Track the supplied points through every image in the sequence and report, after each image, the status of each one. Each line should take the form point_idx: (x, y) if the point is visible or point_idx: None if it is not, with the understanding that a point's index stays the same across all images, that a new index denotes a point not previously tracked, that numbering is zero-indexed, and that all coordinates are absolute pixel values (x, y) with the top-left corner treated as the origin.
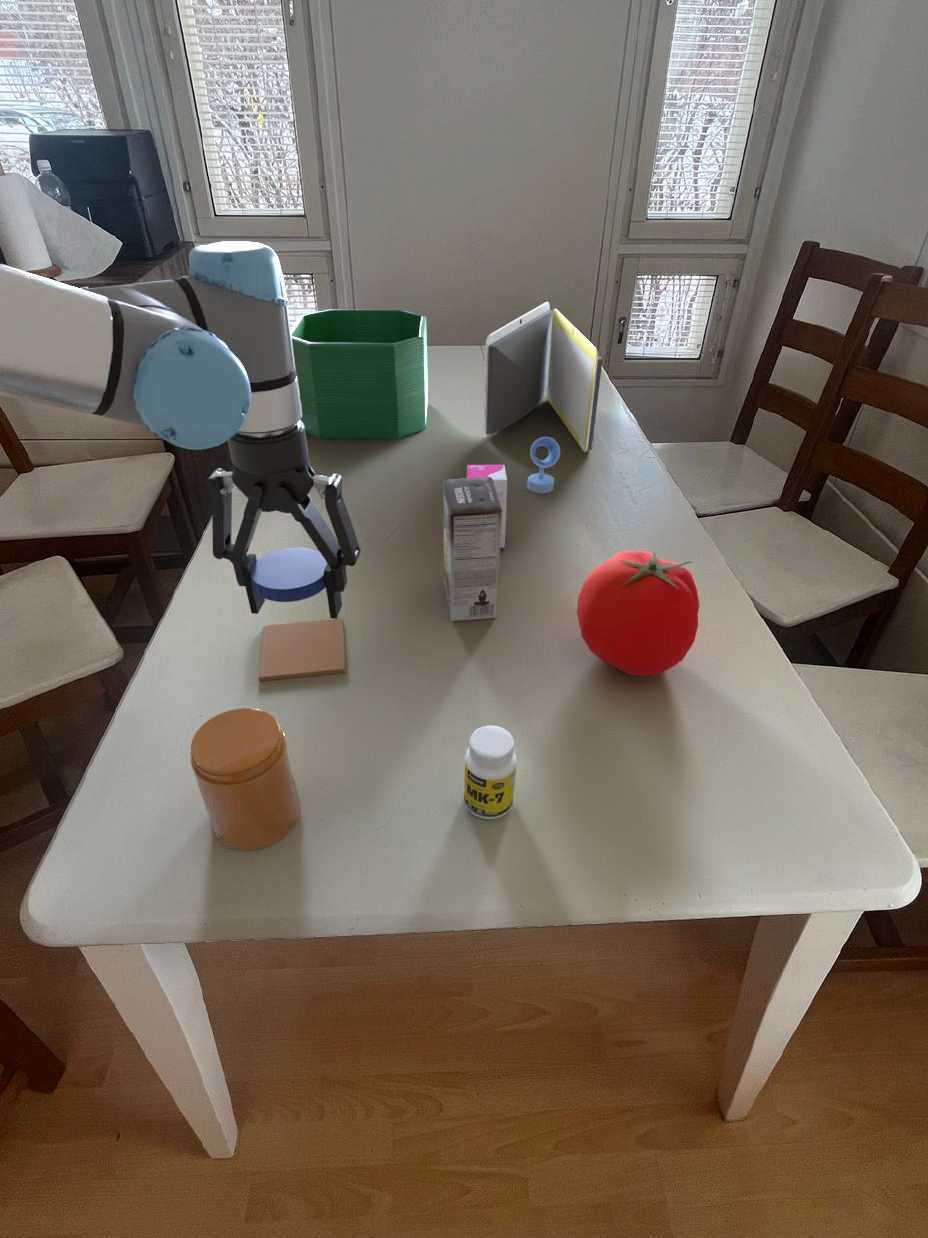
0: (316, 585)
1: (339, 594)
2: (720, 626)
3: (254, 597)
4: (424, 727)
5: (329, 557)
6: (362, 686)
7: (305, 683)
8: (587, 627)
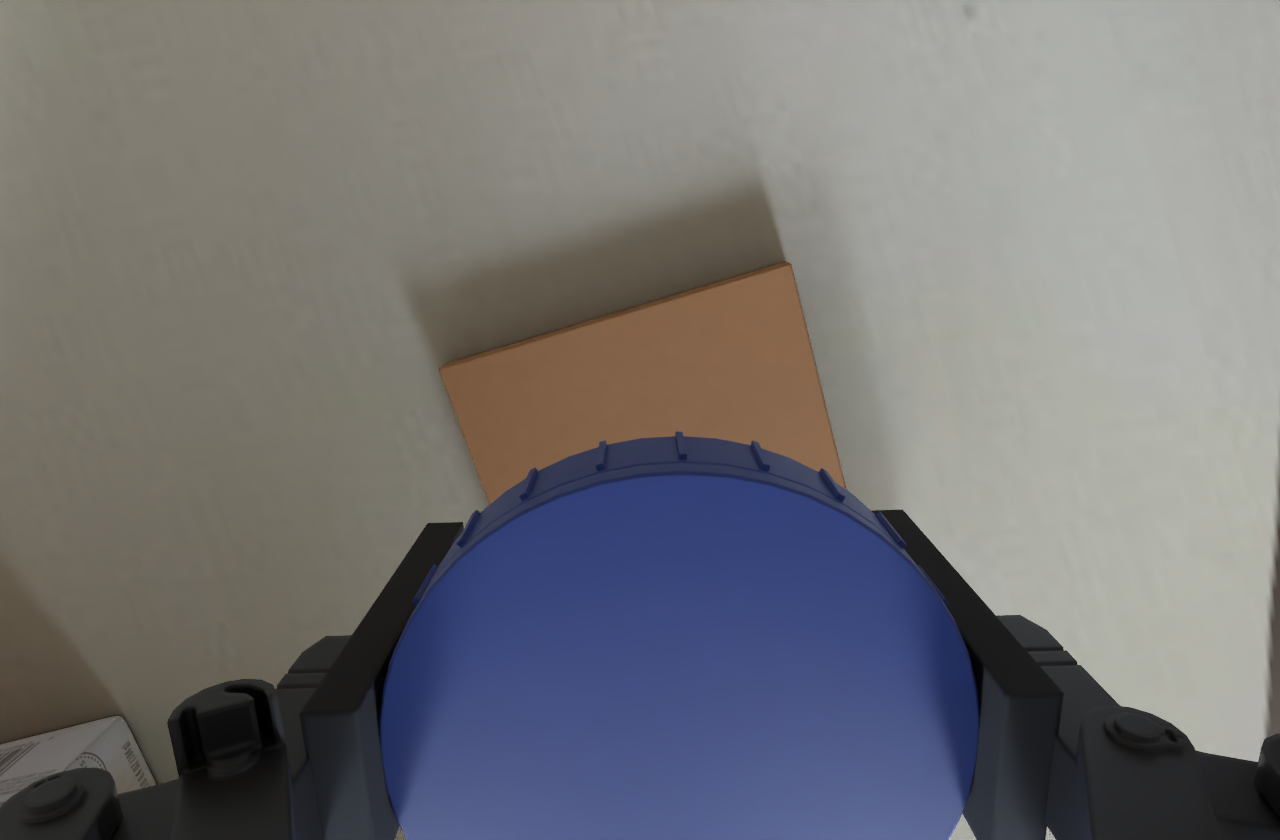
0: (422, 593)
1: None
2: None
3: None
4: (9, 76)
5: (231, 822)
6: (347, 290)
7: (588, 276)
8: None
